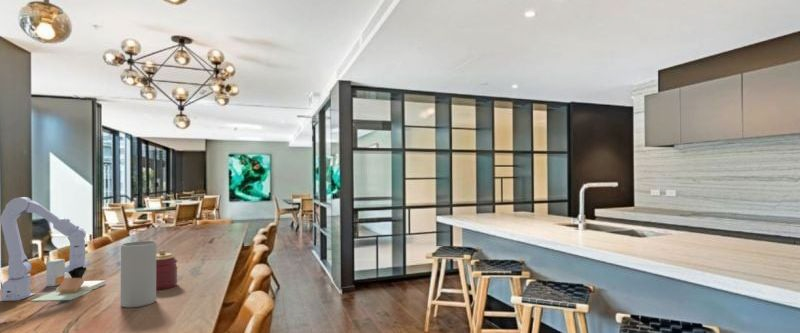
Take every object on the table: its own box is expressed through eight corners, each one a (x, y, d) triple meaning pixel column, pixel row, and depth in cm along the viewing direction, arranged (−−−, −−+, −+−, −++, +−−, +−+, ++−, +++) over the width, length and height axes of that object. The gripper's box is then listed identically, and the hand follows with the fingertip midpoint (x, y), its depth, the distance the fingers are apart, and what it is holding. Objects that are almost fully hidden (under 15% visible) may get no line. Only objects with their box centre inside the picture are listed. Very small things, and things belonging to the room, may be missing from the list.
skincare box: (54, 286, 197) (54, 261, 197) (45, 286, 197) (46, 261, 197) (65, 282, 203) (65, 258, 203) (56, 282, 203) (56, 258, 203)
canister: (183, 283, 201) (183, 247, 201) (165, 290, 188) (165, 252, 188) (158, 282, 202) (159, 247, 202) (139, 290, 189) (139, 252, 189)
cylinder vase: (138, 309, 162) (139, 246, 162) (112, 307, 164) (113, 245, 165) (163, 299, 174) (163, 241, 174) (138, 298, 176) (138, 240, 177)
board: (88, 291, 187) (88, 287, 187) (56, 292, 186) (56, 288, 186) (105, 284, 199) (105, 280, 199) (75, 285, 198) (75, 281, 198)
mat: (70, 300, 174) (70, 299, 174) (30, 301, 173) (30, 300, 173) (91, 291, 187) (91, 290, 187) (54, 292, 186) (54, 291, 186)
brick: (76, 292, 184) (73, 288, 182) (60, 293, 183) (57, 289, 182) (83, 281, 189) (81, 277, 187) (67, 282, 188) (64, 278, 186)
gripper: (75, 257, 183) (75, 288, 183) (96, 251, 197) (96, 279, 197) (58, 258, 182) (58, 288, 182) (81, 252, 197) (80, 280, 196)
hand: (77, 284), depth 189 cm, fingers closed
